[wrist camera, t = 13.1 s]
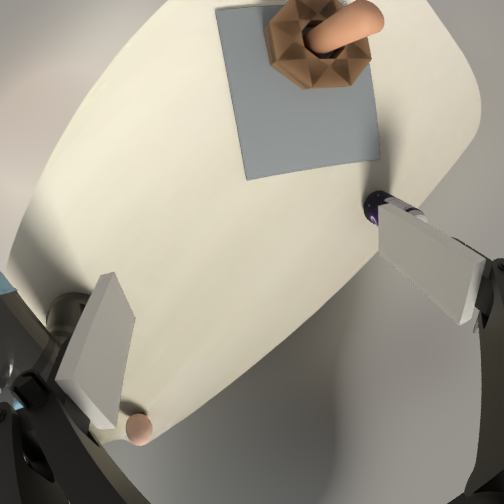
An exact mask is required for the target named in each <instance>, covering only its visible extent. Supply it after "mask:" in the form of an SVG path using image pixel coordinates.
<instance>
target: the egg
mask: <svg viewBox="0 0 504 504" xmlns="http://www.w3.org/2000/svg"><path fill="white" fill-rule="evenodd" d="M126 433H127V436H128V438H129V440H130V441H131V442H132V443H133V444H135V445H137V446H142V445H144V444H146V443H147V442H148V441H149V439H150V438H151V435H152V424H151V422H150V420H149V419H148V418H147V417H146V416H145V415H143V414H139V413H137V414H134V415H132V416H130V417H129V419H128V420H127V423H126Z"/></svg>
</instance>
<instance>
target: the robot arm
mask: <svg viewBox="0 0 504 504" xmlns="http://www.w3.org/2000/svg"><path fill="white" fill-rule="evenodd" d="M378 220H379V255H380V256H381V257H383V258H384V259H385V260H386V261H387V262H388V263H390V264H391V265H392V266H393V267H394V268H396V269H397V270H398V271H399V272H400V273H401V274H403V275H404V276H405V277H406V278H407V279H408V280H410V281H411V282H412V283H413V284H414V285H415V286H416V287H418V288H419V289H420V290H421V291H422V292H423V293H424V294H425V295H426V296H428V297H429V298H430V299H431V300H432V301H433V302H434V303H435V304H437V306H439V307H440V308H441V309H442V310H443V311H444V312H445V313H446V314H447V315H448V316H449V317H450V318H451V319H452V320H454V322H456V323H457V324H458V325H461V324H463V323H465V322H466V321H468V320H470V319H471V317H472V314H473V310H474V307H476V308H477V309H478V310H480V311H479V314H478V318H477V321H476V324H475V327H474V330H473V333H475V332H476V329H477V328H478V327H479V336H480V348H481V349H480V350H481V372H482V396H481V419H480V432H479V442H478V451H477V458H476V464H475V467H474V470H473V472H472V473H471V475H470V477H469V479H468V482H467V484H466V487H465V491H464V493H462V494H461V495H460V496H458V497H456V498H455V499H453V500H452V501H451V502H449V503H448V504H504V259H503V258H501V259H500V258H499V259H496V260H494V261H491V260H490V259H488V258H487V257H485V256H484V255H482V254H481V253H479V252H478V251H476V250H474V249H472V248H471V247H470V246H468V245H465V243H463V242H461V241H460V240H458V239H456V238H453V237H450V236H448V235H447V234H445V233H443V232H442V231H440V230H438V229H437V228H435V227H433V226H431V225H430V224H428V223H426V222H424V221H422V220H421V219H419V218H417V217H415V216H413V215H411V214H410V213H408V212H406V211H404V210H402V209H400V208H398V207H396V206H395V205H393V204H391V203H389V204H384V205H380V206H378ZM135 319H136V318H135V316H134V314H133V312H132V310H131V308H130V305H129V303H128V301H127V299H126V297H125V295H124V293H123V290H122V288H121V286H120V284H119V281H118V279H117V277H116V274H115V272H112V273H108V274H104V275H101V276H100V278H99V280H98V282H97V284H96V286H95V288H94V290H93V292H92V294H91V296H88V295H85V294H81V293H66V294H63V295H61V296H59V297H58V298H56V299H55V301H54V302H53V303H52V305H51V307H50V308H49V310H48V313H47V318H46V328H45V327H44V325H43V324H42V323H41V322H40V321H39V319H38V318H37V317H36V316H35V314H34V313H33V312H32V311H31V309H30V308H29V307H28V306H27V304H26V303H25V302H24V300H23V299H22V298H21V296H20V295H19V294H18V292H17V289H16V288H13V286H12V285H11V284H10V282H9V281H8V280H7V279H6V277H5V276H4V275H3V273H1V272H0V393H1V392H2V390H3V388H4V386H6V387H7V388H8V389H9V390H10V391H11V394H12V395H13V396H14V399H13V406H14V409H15V410H14V409H13V408H12V407H11V406H10V404H9V403H7V402H1V403H0V504H69V502H70V504H151V503H150V502H149V501H148V500H147V499H146V498H145V497H144V496H143V495H142V494H141V493H140V492H139V491H138V490H137V488H136V487H135V486H134V485H133V484H132V483H131V481H130V480H129V479H128V478H127V477H126V476H125V474H124V473H123V472H122V471H121V470H120V468H119V467H118V466H117V465H116V464H115V462H114V461H113V460H112V459H111V457H110V456H109V455H108V453H107V452H106V451H105V449H104V448H103V447H102V445H101V444H100V442H99V441H98V440H97V438H96V437H95V435H94V434H93V433H92V432H91V431H90V430H89V423H90V421H91V422H92V423H93V424H94V425H95V426H96V427H97V428H98V429H116V427H117V419H118V412H119V404H120V398H121V391H122V385H123V379H124V373H125V368H126V362H127V357H128V352H129V347H130V342H131V337H132V332H133V328H134V323H135ZM24 457H25V459H26V461H25V459H24Z"/></svg>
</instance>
